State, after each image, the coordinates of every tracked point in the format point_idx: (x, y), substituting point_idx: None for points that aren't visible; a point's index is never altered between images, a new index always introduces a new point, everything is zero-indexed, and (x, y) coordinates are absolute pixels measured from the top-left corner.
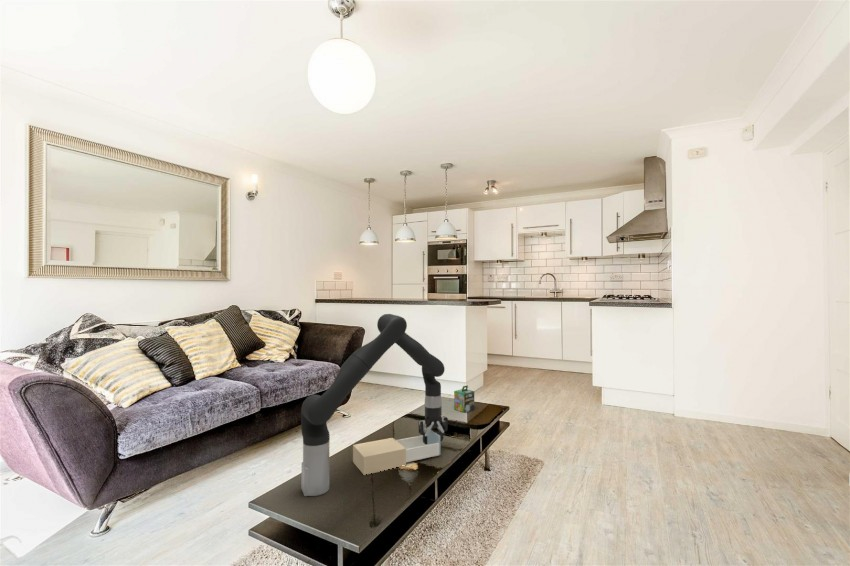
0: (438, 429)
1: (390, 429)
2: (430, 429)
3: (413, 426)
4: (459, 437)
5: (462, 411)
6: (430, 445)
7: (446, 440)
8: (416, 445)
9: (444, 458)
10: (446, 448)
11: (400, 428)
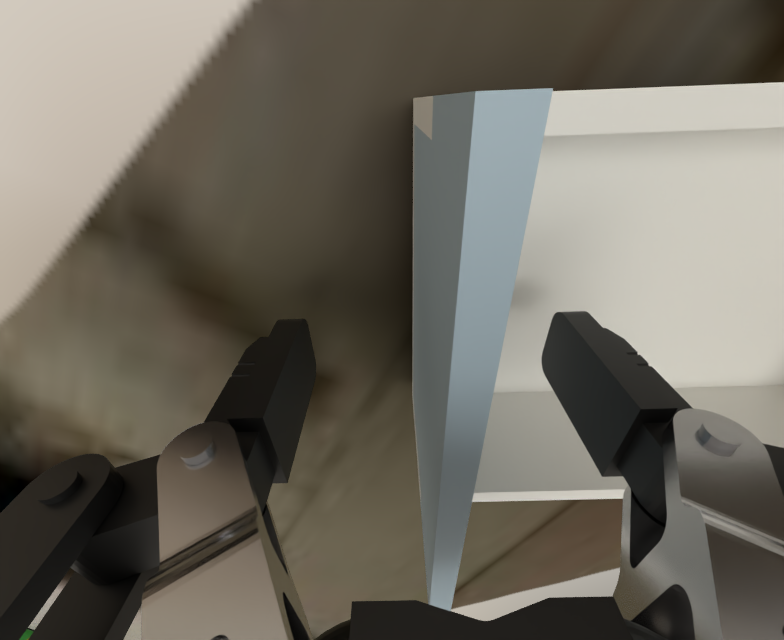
0: (278, 539)
1: (464, 597)
2: (723, 589)
3: (339, 594)
4: (68, 440)
5: (30, 634)
6: (739, 87)
7: None
8: (546, 404)
9: (383, 7)
10: (243, 301)
11: (413, 594)
